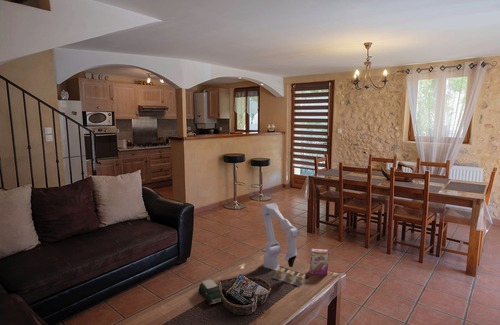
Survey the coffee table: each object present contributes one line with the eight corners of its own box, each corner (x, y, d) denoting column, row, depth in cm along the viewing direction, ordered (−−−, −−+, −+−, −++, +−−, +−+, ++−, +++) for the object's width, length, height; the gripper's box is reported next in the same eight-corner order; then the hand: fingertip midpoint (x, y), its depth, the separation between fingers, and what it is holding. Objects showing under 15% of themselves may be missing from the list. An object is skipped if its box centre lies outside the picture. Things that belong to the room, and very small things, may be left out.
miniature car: (210, 307, 169) (210, 294, 168) (197, 291, 184) (197, 279, 183) (225, 302, 174) (225, 289, 173) (211, 287, 189) (211, 275, 188)
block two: (295, 282, 194) (296, 275, 194) (298, 279, 198) (298, 272, 197) (302, 284, 192) (302, 277, 191) (305, 281, 196) (305, 274, 195)
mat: (271, 278, 200) (271, 277, 200) (278, 271, 208) (278, 271, 208) (302, 288, 189) (302, 287, 189) (308, 280, 198) (308, 279, 198)
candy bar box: (310, 275, 205) (311, 251, 202) (309, 271, 210) (310, 248, 207) (327, 276, 204) (328, 252, 201) (326, 272, 209) (327, 249, 206)
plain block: (285, 279, 198) (285, 272, 197) (288, 276, 202) (288, 269, 201) (292, 281, 196) (292, 274, 195) (294, 278, 199) (295, 271, 199)
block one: (275, 276, 201) (275, 269, 201) (278, 273, 205) (278, 266, 204) (281, 278, 199) (282, 271, 198) (284, 275, 203) (285, 268, 202)
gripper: (292, 252, 188) (292, 273, 190) (301, 243, 200) (301, 263, 202) (282, 249, 192) (281, 270, 194) (291, 241, 204) (290, 260, 206)
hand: (290, 266), depth 198 cm, fingers closed
